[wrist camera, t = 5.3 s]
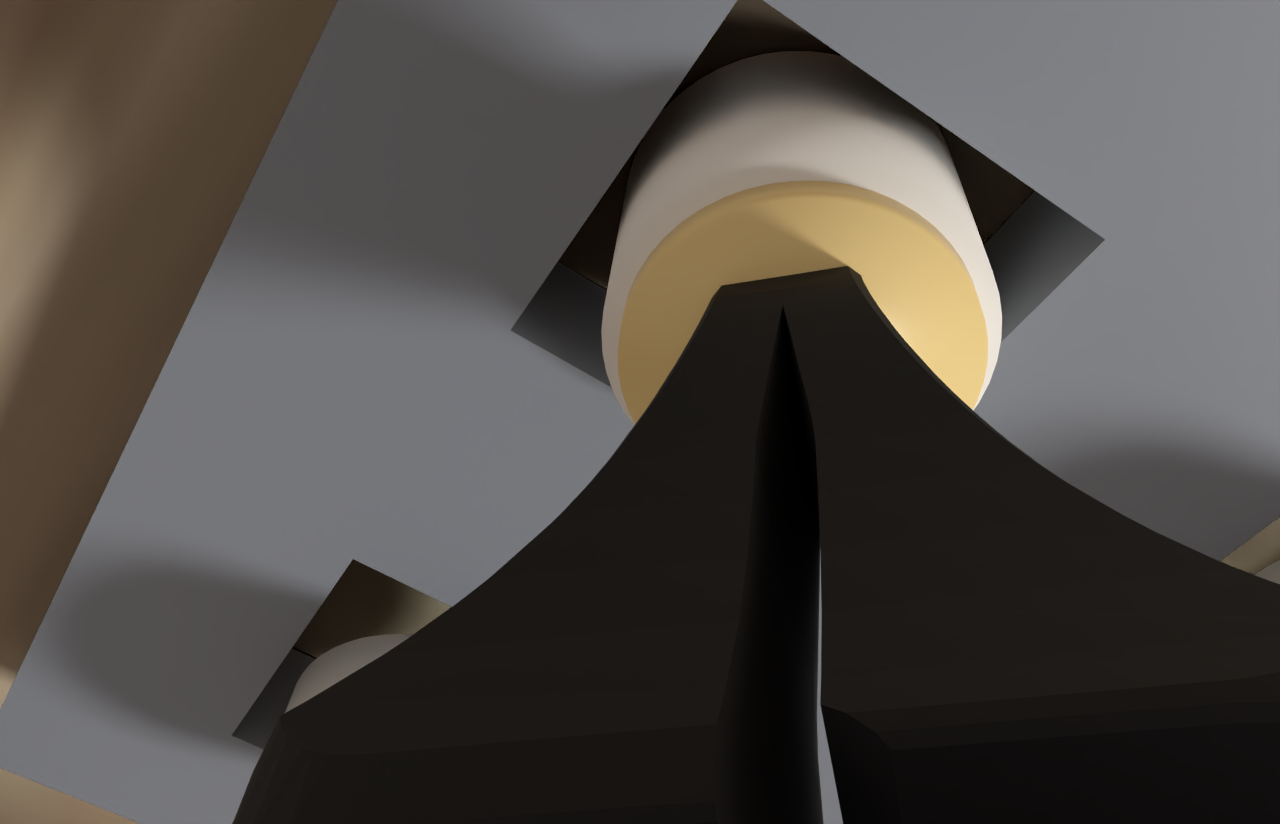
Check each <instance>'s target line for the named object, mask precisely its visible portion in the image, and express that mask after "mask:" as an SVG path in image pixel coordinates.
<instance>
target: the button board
mask: <svg viewBox="0 0 1280 824" xmlns="http://www.w3.org/2000/svg"><path fill="white" fill-rule="evenodd" d="M763 1H765V2H766V3H767V4H769V5H770V6H772V7H773V8H775V9H776V10H777V11H779V12H780V13H782V14H783V15H785V16H786V17H787V18H789V19H790V20H792V21H793V22H795V23H796V24H797V25H799V26H800V27H802V28H803V29H805V30H806V31H807V32H809V33H810V34H812V35H813V36H815V37H816V38H817V39H819V40H820V41H822V42H823V43H825V44H826V45H828V46H829V47H830V48H832V49H833V50H835V51H836V52H838V53H839V54H840V55H842V56H843V57H845V58H846V59H848V60H849V61H850V62H852V63H853V64H855V65H856V66H858V67H859V68H860V69H862V70H863V71H865V72H866V73H868V74H869V75H870V76H872V77H873V78H875V79H876V80H878V81H879V82H880V83H882V84H883V85H885V86H886V87H888V88H889V89H890V90H892V91H893V92H895V93H896V94H898V95H899V96H900V97H902V98H903V99H905V100H906V101H908V102H909V103H911V104H912V105H913V106H915V107H916V108H918V109H919V110H921V111H922V112H923V113H925V114H926V115H928V116H929V117H931V118H932V119H933V120H935V121H936V122H938V123H939V124H941V125H942V126H943V127H945V128H946V129H948V130H949V131H951V132H952V133H953V134H955V135H956V136H958V137H959V138H961V139H962V140H963V141H965V142H966V143H968V144H969V145H971V146H972V147H973V148H975V149H976V150H978V151H979V152H981V153H982V154H983V155H985V156H986V157H988V158H989V159H991V160H992V161H994V162H995V163H996V164H998V165H999V166H1001V167H1002V168H1004V169H1005V170H1006V171H1008V172H1009V173H1011V174H1012V175H1014V176H1015V177H1016V178H1018V179H1019V180H1021V181H1022V182H1024V183H1025V184H1026V185H1028V186H1029V187H1031V188H1032V189H1034V190H1035V191H1034V192H1033V193H1032V194H1031V195H1030V196H1029V198H1028V199H1027V200H1026V201H1025V202H1024V203H1023V204H1022V205H1021V206H1020V207H1019V208H1018V209H1017V210H1016V211H1015V212H1014V213H1013V215H1012V216H1011V217H1010V218H1009V219H1008V220H1007V221H1006V222H1005V223H1004V224H1003V225H1002V226H1001V227H1000V228H999V229H998V230H997V232H996V233H995V234H994V235H993V236H992V237H991V238H990V239H989V240H988V241H987V242H986V243H985V244H984V245H983V246H984V249H985V252H986V254H987V257H988V260H989V263H990V266H991V268H992V271H993V274H994V278H995V281H996V284H997V288H998V291H999V296H1000V303H1001V311H1002V336H1001V344H1000V349H999V354H998V359H997V363H996V366H995V369H994V371H993V374H992V377H991V380H990V383H989V385H988V386H987V388H986V390H985V392H984V394H983V396H982V398H981V400H980V402H979V403H978V405H977V406H976V408H975V409H974V410H973V411H974V412H975V413H976V414H978V415H979V416H980V417H981V418H982V419H983V420H985V421H986V422H987V423H988V424H989V425H990V426H991V427H993V428H994V429H995V430H996V431H998V432H999V433H1000V434H1001V435H1002V436H1004V437H1005V438H1006V439H1007V440H1009V441H1010V442H1011V443H1012V444H1014V445H1015V446H1016V447H1018V448H1019V449H1020V450H1022V451H1023V452H1024V453H1026V454H1027V455H1029V456H1030V457H1031V458H1033V459H1034V460H1035V461H1037V462H1038V463H1039V464H1041V465H1042V466H1043V467H1045V468H1046V469H1048V470H1049V471H1051V472H1052V473H1054V474H1055V475H1057V476H1058V477H1060V478H1061V479H1063V480H1064V481H1066V482H1067V483H1069V484H1070V485H1072V486H1074V487H1076V488H1077V489H1079V490H1081V491H1083V492H1084V493H1086V494H1088V495H1090V496H1091V497H1093V498H1095V499H1096V500H1098V501H1100V502H1102V503H1103V504H1105V505H1107V506H1109V507H1110V508H1112V509H1114V510H1116V511H1117V512H1119V513H1121V514H1122V515H1124V516H1126V517H1128V518H1130V519H1132V520H1134V521H1136V522H1137V523H1139V524H1141V525H1143V526H1145V527H1147V528H1149V529H1151V530H1153V531H1155V532H1157V533H1159V534H1161V535H1163V536H1165V537H1168V538H1170V539H1172V540H1174V541H1176V542H1178V543H1181V544H1183V545H1185V546H1187V547H1189V548H1192V549H1194V550H1196V551H1198V552H1200V553H1202V554H1205V555H1207V556H1209V557H1211V558H1213V559H1215V560H1218V561H1221V560H1222V559H1223V558H1225V557H1226V556H1227V555H1229V554H1230V553H1231V552H1233V551H1234V550H1236V549H1237V548H1238V547H1240V546H1241V545H1242V544H1244V543H1245V542H1246V541H1248V540H1249V539H1250V538H1252V537H1253V536H1254V535H1256V534H1257V533H1258V532H1260V531H1261V530H1262V529H1264V528H1265V527H1266V526H1268V525H1269V524H1270V523H1272V522H1273V521H1275V520H1276V519H1277V518H1279V517H1280V0H763ZM736 2H737V0H338V1H337V3H336V5H335V7H334V9H333V11H332V14H331V16H330V18H329V20H328V22H327V24H326V26H325V28H324V30H323V32H322V35H321V37H320V39H319V41H318V43H317V45H316V47H315V49H314V51H313V53H312V56H311V58H310V60H309V62H308V64H307V66H306V68H305V70H304V72H303V74H302V77H301V79H300V81H299V83H298V85H297V87H296V89H295V91H294V93H293V95H292V98H291V100H290V102H289V104H288V106H287V108H286V110H285V112H284V114H283V116H282V119H281V121H280V123H279V125H278V127H277V129H276V131H275V133H274V135H273V137H272V140H271V142H270V144H269V146H268V148H267V150H266V152H265V154H264V156H263V159H262V161H261V163H260V165H259V167H258V169H257V171H256V173H255V175H254V177H253V180H252V182H251V184H250V186H249V188H248V190H247V192H246V194H245V196H244V198H243V201H242V203H241V205H240V207H239V209H238V211H237V213H236V215H235V217H234V219H233V222H232V224H231V226H230V228H229V230H228V232H227V234H226V236H225V238H224V240H223V243H222V245H221V247H220V249H219V251H218V253H217V255H216V257H215V259H214V261H213V264H212V266H211V268H210V270H209V272H208V274H207V276H206V278H205V280H204V282H203V285H202V287H201V289H200V291H199V293H198V295H197V297H196V299H195V301H194V304H193V306H192V308H191V310H190V312H189V314H188V316H187V318H186V320H185V322H184V325H183V327H182V329H181V331H180V333H179V335H178V337H177V339H176V341H175V343H174V346H173V348H172V350H171V352H170V354H169V356H168V358H167V360H166V362H165V364H164V367H163V369H162V371H161V373H160V375H159V377H158V379H157V381H156V383H155V385H154V388H153V390H152V392H151V394H150V396H149V398H148V400H147V402H146V404H145V406H144V409H143V411H142V413H141V415H140V417H139V419H138V421H137V423H136V425H135V427H134V430H133V432H132V434H131V436H130V438H129V440H128V442H127V444H126V446H125V449H124V451H123V453H122V455H121V457H120V459H119V461H118V463H117V465H116V467H115V470H114V472H113V474H112V476H111V478H110V480H109V482H108V484H107V486H106V488H105V491H104V493H103V495H102V497H101V499H100V501H99V503H98V505H97V507H96V509H95V512H94V514H93V516H92V518H91V520H90V522H89V524H88V526H87V528H86V530H85V533H84V535H83V537H82V539H81V541H80V543H79V545H78V547H77V549H76V551H75V554H74V556H73V558H72V560H71V562H70V564H69V566H68V568H67V570H66V573H65V575H64V577H63V579H62V581H61V583H60V585H59V587H58V589H57V591H56V594H55V596H54V598H53V600H52V602H51V604H50V606H49V608H48V610H47V612H46V615H45V617H44V619H43V621H42V623H41V625H40V627H39V629H38V631H37V633H36V636H35V638H34V640H33V642H32V644H31V646H30V648H29V650H28V652H27V654H26V657H25V659H24V661H23V663H22V665H21V667H20V669H19V671H18V673H17V675H16V678H15V680H14V682H13V684H12V686H11V688H10V690H9V692H8V694H7V696H6V699H5V701H4V703H3V705H2V707H1V709H0V768H2V769H4V770H7V771H9V772H12V773H14V774H17V775H19V776H22V777H24V778H27V779H29V780H32V781H34V782H37V783H39V784H42V785H44V786H47V787H49V788H52V789H54V790H57V791H60V792H62V793H65V794H67V795H70V796H72V797H75V798H77V799H80V800H82V801H85V802H87V803H90V804H92V805H95V806H97V807H100V808H102V809H105V810H107V811H110V812H112V813H115V814H117V815H120V816H123V817H125V818H128V819H130V820H133V821H135V822H138V823H140V824H232V823H233V821H234V818H235V816H236V813H237V811H238V808H239V806H240V803H241V801H242V798H243V796H244V793H245V790H246V788H247V785H248V783H249V780H250V778H251V775H252V773H253V770H254V768H255V766H256V764H257V762H258V760H259V758H260V756H261V754H262V752H263V750H264V748H265V746H266V744H267V742H268V740H269V738H270V736H271V734H272V732H273V730H274V728H275V726H276V723H277V721H278V719H279V717H280V716H281V715H282V714H284V713H285V711H286V709H287V706H288V704H289V701H290V699H291V696H292V694H293V691H294V689H295V686H296V684H297V682H298V680H299V678H300V677H301V675H302V673H303V672H304V671H305V669H306V668H307V667H308V666H309V665H310V664H311V663H312V662H313V661H314V660H316V659H314V658H312V657H310V656H308V655H305V654H303V653H301V652H299V651H297V650H294V649H292V647H293V645H294V644H295V643H296V641H297V640H298V638H299V637H300V635H301V634H302V632H303V631H304V629H305V628H306V627H307V625H308V624H309V622H310V621H311V619H312V618H313V616H314V615H315V613H316V612H317V611H318V609H319V608H320V606H321V605H322V603H323V602H324V600H325V599H326V597H327V596H328V595H329V593H330V592H331V590H332V589H333V587H334V586H335V584H336V583H337V581H338V580H339V579H340V577H341V576H342V574H343V573H344V571H345V570H346V568H347V567H348V566H349V564H350V563H351V561H352V560H353V559H354V560H356V561H358V562H360V563H362V564H364V565H366V566H368V567H370V568H373V569H375V570H377V571H379V572H381V573H383V574H385V575H387V576H389V577H391V578H393V579H395V580H397V581H399V582H401V583H403V584H405V585H408V586H410V587H412V588H414V589H416V590H418V591H420V592H422V593H424V594H426V595H428V596H430V597H432V598H434V599H436V600H438V601H441V602H443V603H445V604H447V605H449V606H451V607H453V606H454V605H455V604H456V603H458V602H459V601H460V600H462V599H463V598H464V597H466V596H467V595H468V594H469V593H471V592H472V591H473V590H475V589H476V588H477V587H479V586H480V585H481V584H482V583H484V582H485V581H486V580H487V579H489V578H490V577H491V576H492V575H493V574H494V573H496V572H497V571H498V570H499V569H500V568H501V567H502V566H503V565H505V564H506V563H507V562H508V561H509V560H510V559H511V558H512V557H514V556H515V555H516V554H517V553H518V552H519V551H520V550H521V549H523V548H524V547H525V546H526V545H527V544H528V543H529V542H530V541H532V540H533V539H534V538H535V537H536V536H537V535H538V534H539V533H541V532H542V531H543V530H544V529H545V528H546V527H547V526H548V525H550V524H551V523H552V522H553V521H554V520H555V519H556V518H557V517H558V516H559V515H560V514H561V513H562V512H563V511H564V510H565V509H566V508H567V507H568V505H569V504H570V503H571V502H572V501H573V500H574V499H575V498H576V497H577V496H578V495H579V494H580V493H581V492H582V491H583V490H584V489H585V487H586V486H587V485H588V484H589V483H590V482H591V481H592V479H593V478H594V477H595V476H596V475H597V473H598V472H599V471H600V470H601V469H602V467H603V466H604V465H605V464H606V463H607V461H608V460H609V459H610V458H611V456H612V455H613V454H614V452H615V451H616V450H617V448H618V447H619V446H620V444H621V443H622V442H623V440H624V439H625V437H626V436H627V435H628V433H629V432H630V431H631V429H632V428H633V427H634V425H633V424H632V423H631V421H630V420H629V418H628V417H627V416H626V414H625V413H624V411H623V410H622V408H621V406H620V404H619V402H618V400H617V398H616V396H615V395H614V392H613V390H612V387H611V384H610V381H609V379H608V376H607V373H606V368H605V363H604V358H603V353H602V334H601V329H602V320H603V311H604V304H605V299H606V294H607V290H605V289H603V288H602V287H600V286H598V285H596V284H595V283H593V282H591V281H590V280H588V279H586V278H585V277H583V276H581V275H580V274H578V273H576V272H574V271H573V270H571V269H569V268H568V267H566V266H564V265H563V264H561V263H559V262H558V260H559V259H560V257H561V256H562V255H563V253H564V252H565V250H566V249H567V247H568V246H569V244H570V243H571V241H572V240H573V239H574V237H575V236H576V234H577V233H578V231H579V230H580V228H581V227H582V225H583V224H584V223H585V221H586V220H587V218H588V217H589V215H590V214H591V212H592V211H593V209H594V208H595V207H596V205H597V204H598V202H599V201H600V199H601V198H602V196H603V195H604V193H605V192H606V191H607V189H608V188H609V186H610V185H611V183H612V182H613V180H614V179H615V177H616V176H617V175H618V173H619V172H620V170H621V169H622V167H623V166H624V164H625V163H626V161H627V160H628V159H629V157H630V156H631V154H632V153H633V151H634V150H635V148H636V147H637V146H638V144H639V143H640V141H641V140H642V138H643V137H644V135H645V134H646V132H647V131H648V130H649V128H650V127H651V125H652V124H653V122H654V121H655V119H656V118H657V116H658V115H659V114H660V112H661V111H662V109H663V108H664V106H665V105H666V103H667V102H668V100H669V99H670V98H671V96H672V95H673V93H674V92H675V90H676V89H677V87H678V86H679V84H680V83H681V82H682V80H683V79H684V77H685V76H686V74H687V73H688V71H689V70H690V68H691V67H692V66H693V64H694V63H695V61H696V60H697V58H698V57H699V55H700V54H701V53H702V51H703V50H704V48H705V47H706V45H707V44H708V42H709V41H710V39H711V38H712V37H713V35H714V34H715V32H716V31H717V29H718V28H719V26H720V25H721V23H722V22H723V21H724V19H725V18H726V16H727V15H728V13H729V12H730V10H731V9H732V7H733V6H734V5H735V3H736ZM821 632H822V605H821V554H820V592H819V640H818V688H817V735H818V762H819V774H820V786H821V798H822V810H823V822H824V824H843V820H842V815H841V810H840V805H839V799H838V794H837V789H836V784H835V779H834V773H833V768H832V763H831V758H830V752H829V747H828V742H827V737H826V732H825V726H824V721H823V716H822V711H821V706H820V697H821Z"/></svg>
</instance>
